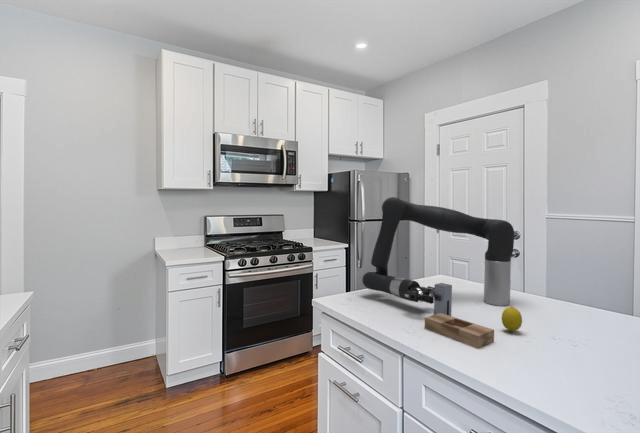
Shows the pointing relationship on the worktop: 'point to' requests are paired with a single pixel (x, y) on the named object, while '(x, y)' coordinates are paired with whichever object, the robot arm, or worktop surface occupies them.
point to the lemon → (511, 319)
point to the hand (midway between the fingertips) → (440, 298)
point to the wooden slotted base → (460, 330)
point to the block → (443, 299)
